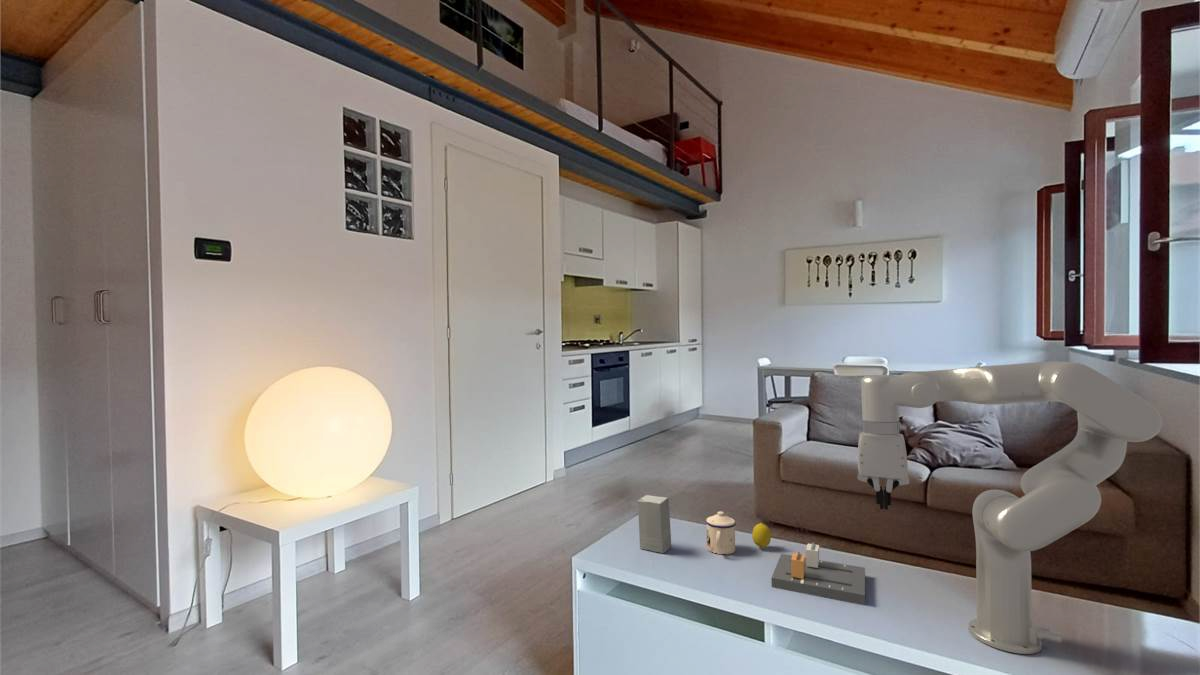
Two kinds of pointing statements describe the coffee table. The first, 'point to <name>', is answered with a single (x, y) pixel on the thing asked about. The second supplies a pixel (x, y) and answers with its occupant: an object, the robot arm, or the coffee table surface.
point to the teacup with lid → (720, 534)
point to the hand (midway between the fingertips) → (884, 507)
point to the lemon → (761, 535)
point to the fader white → (812, 555)
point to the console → (823, 580)
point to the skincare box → (654, 523)
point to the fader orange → (798, 565)
